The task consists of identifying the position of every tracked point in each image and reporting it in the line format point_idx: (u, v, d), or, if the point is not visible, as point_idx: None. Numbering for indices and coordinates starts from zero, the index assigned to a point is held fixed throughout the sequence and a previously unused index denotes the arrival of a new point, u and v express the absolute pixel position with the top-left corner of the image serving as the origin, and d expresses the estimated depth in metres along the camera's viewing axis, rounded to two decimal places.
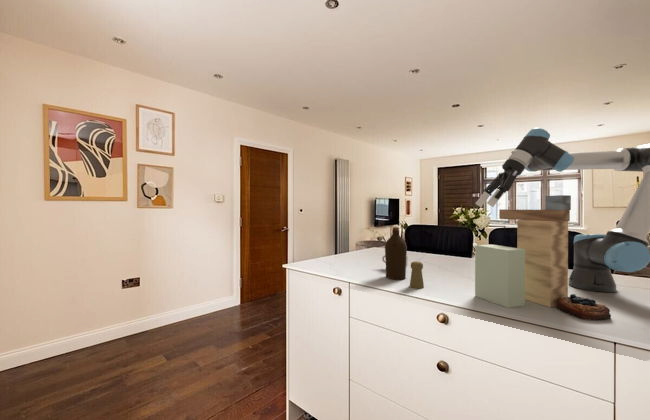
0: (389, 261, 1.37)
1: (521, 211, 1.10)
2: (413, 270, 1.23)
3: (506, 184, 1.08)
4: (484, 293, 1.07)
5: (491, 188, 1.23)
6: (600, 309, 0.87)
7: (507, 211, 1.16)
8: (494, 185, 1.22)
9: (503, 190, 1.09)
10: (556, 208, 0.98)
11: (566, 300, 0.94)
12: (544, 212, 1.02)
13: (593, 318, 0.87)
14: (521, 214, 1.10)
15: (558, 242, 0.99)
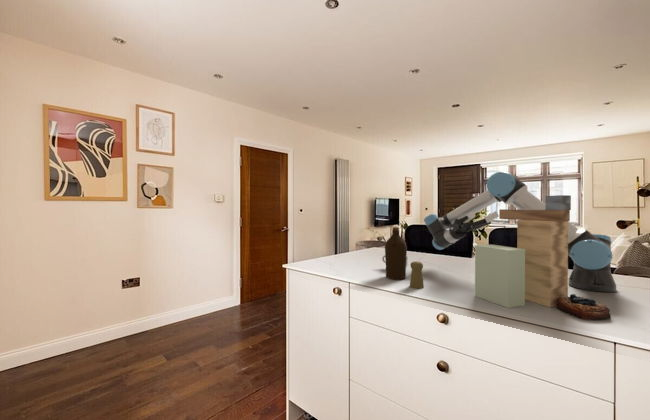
0: (389, 261, 1.37)
1: (521, 211, 1.10)
2: (413, 270, 1.23)
3: (456, 224, 1.33)
4: (484, 293, 1.07)
5: (480, 222, 1.38)
6: (600, 309, 0.87)
7: (507, 211, 1.16)
8: (477, 224, 1.38)
9: (459, 220, 1.32)
10: (556, 208, 0.98)
11: (566, 300, 0.94)
12: (544, 212, 1.02)
13: (593, 318, 0.87)
14: (521, 214, 1.10)
15: (558, 242, 0.99)
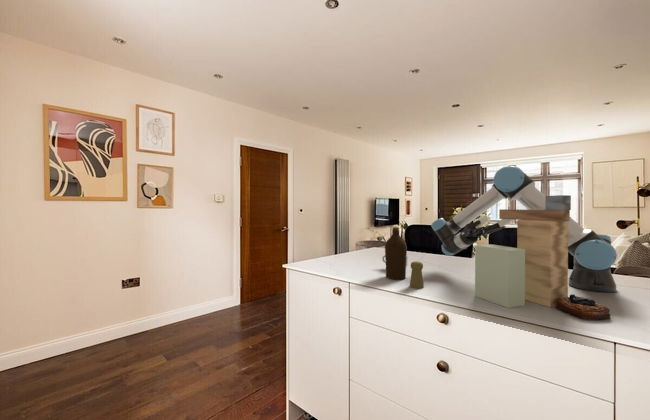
0: (389, 261, 1.37)
1: (521, 211, 1.10)
2: (413, 270, 1.23)
3: (467, 229, 1.26)
4: (484, 293, 1.07)
5: (493, 227, 1.30)
6: (600, 309, 0.87)
7: (507, 211, 1.16)
8: (489, 228, 1.31)
9: (471, 225, 1.24)
10: (556, 208, 0.98)
11: (566, 300, 0.94)
12: (544, 212, 1.02)
13: (593, 318, 0.87)
14: (521, 214, 1.10)
15: (558, 242, 0.99)
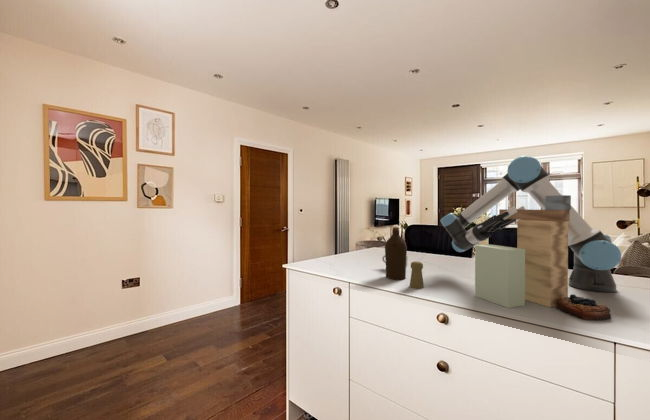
0: (389, 261, 1.37)
1: (521, 211, 1.10)
2: (413, 270, 1.23)
3: (492, 221, 1.18)
4: (484, 293, 1.07)
5: (505, 220, 1.22)
6: (600, 309, 0.87)
7: None
8: (501, 222, 1.23)
9: (498, 217, 1.17)
10: (556, 208, 0.98)
11: (566, 300, 0.94)
12: (544, 212, 1.02)
13: (594, 318, 0.87)
14: (521, 214, 1.10)
15: (558, 242, 0.99)
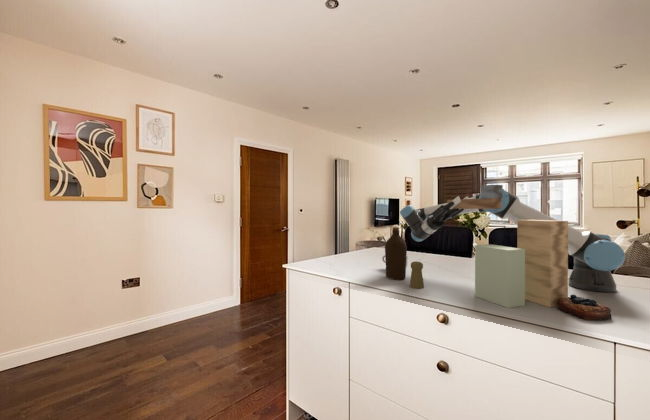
0: (389, 261, 1.37)
1: (463, 200, 1.19)
2: (413, 270, 1.23)
3: (440, 210, 1.27)
4: (484, 293, 1.07)
5: (453, 210, 1.30)
6: (602, 309, 0.87)
7: None
8: (450, 212, 1.31)
9: (445, 206, 1.26)
10: (489, 197, 1.06)
11: (567, 301, 0.94)
12: (480, 201, 1.11)
13: (595, 318, 0.86)
14: (463, 204, 1.19)
15: (558, 242, 0.99)
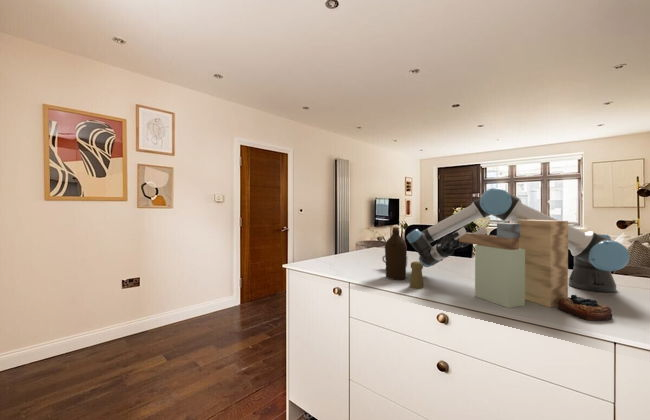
0: (389, 261, 1.37)
1: (477, 236, 1.12)
2: (413, 270, 1.23)
3: (445, 241, 1.21)
4: (484, 293, 1.07)
5: None
6: (603, 309, 0.87)
7: (465, 235, 1.18)
8: None
9: (449, 237, 1.19)
10: (506, 236, 1.00)
11: (568, 301, 0.94)
12: (496, 239, 1.04)
13: (597, 319, 0.86)
14: (477, 239, 1.12)
15: (558, 242, 0.99)
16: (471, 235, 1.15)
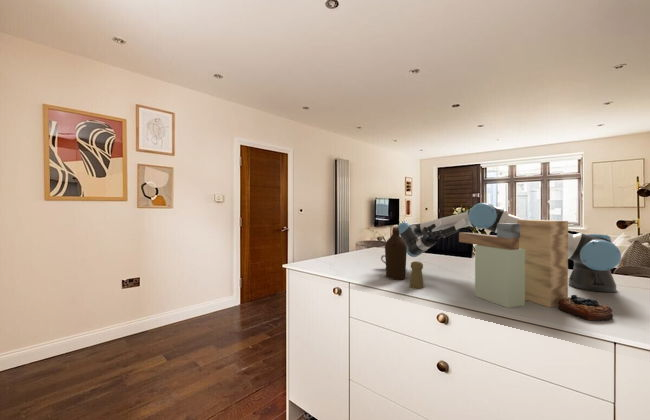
0: (389, 261, 1.37)
1: (477, 236, 1.12)
2: (413, 270, 1.23)
3: (424, 232, 1.33)
4: (484, 293, 1.07)
5: (450, 230, 1.38)
6: (604, 309, 0.87)
7: (465, 235, 1.18)
8: (446, 231, 1.39)
9: (427, 228, 1.32)
10: (506, 236, 1.00)
11: (569, 301, 0.93)
12: (496, 239, 1.04)
13: (598, 319, 0.86)
14: (477, 239, 1.12)
15: (558, 242, 0.99)
16: (471, 235, 1.15)
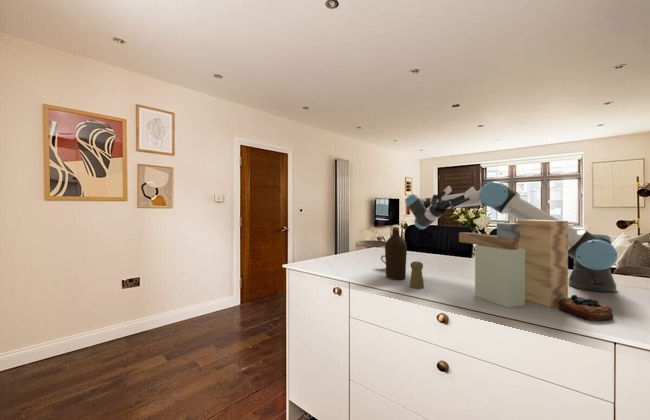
0: (389, 261, 1.37)
1: (477, 236, 1.12)
2: (413, 270, 1.23)
3: (434, 199, 1.35)
4: (484, 293, 1.07)
5: (459, 199, 1.39)
6: (604, 310, 0.87)
7: (465, 235, 1.18)
8: (455, 200, 1.40)
9: (437, 196, 1.33)
10: (506, 236, 1.00)
11: (569, 301, 0.93)
12: (496, 239, 1.04)
13: (599, 319, 0.86)
14: (477, 239, 1.12)
15: (558, 242, 0.99)
16: (471, 235, 1.15)
